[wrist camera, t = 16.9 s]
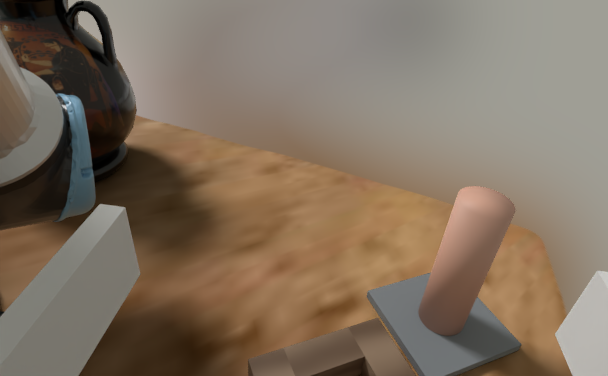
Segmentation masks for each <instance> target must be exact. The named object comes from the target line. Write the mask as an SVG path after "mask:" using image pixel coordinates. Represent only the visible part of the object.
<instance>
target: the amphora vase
mask: <svg viewBox="0 0 608 376" xmlns="http://www.w3.org/2000/svg"><path fill="white" fill-rule="evenodd" d="M80 11H86V12H88V13H90V14H91V15H92V16H93V17H94V19H95V20H96V22H97V25H98V27H99V30H100V32H101V35H102V42H103V44H102V43H101V42H100V41H99V40H97V39H96V38H95V37H94V36H92V35H91V34H90V33H89V32H87V31H86V30H85V29H83V27H81V26H80V25H79V23H78V14H79V13H80ZM0 29H1V31H2V33H3V35H4V37H5V39H6V41H7V43H8V45H9V47H10V49H11V51H12V53H13V55H14V57H15V59H16V61H17V63H18V65H19V67H21V68H23V69H26V70H28V71H30V72H31V73H33V74H35V75H36V76H38V77H39V78H41V79H42V80H43V81H44V82H46V83H47V84H48V85H49V86H50V88H51V89H52V90H53V91H54V93H55V94H65V95H74V96H77V97H78V98H79V99H80V100H81V102H82V104H83V108H84V112H85V118H86V124H87V130H88V136H89V143H90V150H91V158H92V170H93V175H94V182H95V181H98V180H101V179H103V178H105V177H107V176H109V175H111V174H112V173H114V172H115V171H116V170H118V169H119V168H120V167H121V166H122V164H123V163H124V162H125V161H126V159H127V156H128V147H127V144H126V143H125V142H124V141H125V139H126V138H127V137H128V136H129V134H130V132H131V130H132V128H133V125H134V120H135V116H136V111H137V109H136V101H135V95H134V93H133V90H132V87H131V84H130V82H129V79H128V77H127V75H126V73H125V71H124V69H123V67H122V66H121V64H120V62H119V61H118V60H117V58H116V54H115V49H114V44H113V37H112V31H111V28H110V25H109V22H108V18H107V17H106V15H105V14H104V12H103V11H102V10H101V8H100V7H99V6H97V5H96V4H93V3H92V2H90V1H78V2H76V3H75V4H73V5H72V6H71V7H70V8H69V9H68V0H0Z"/></svg>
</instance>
